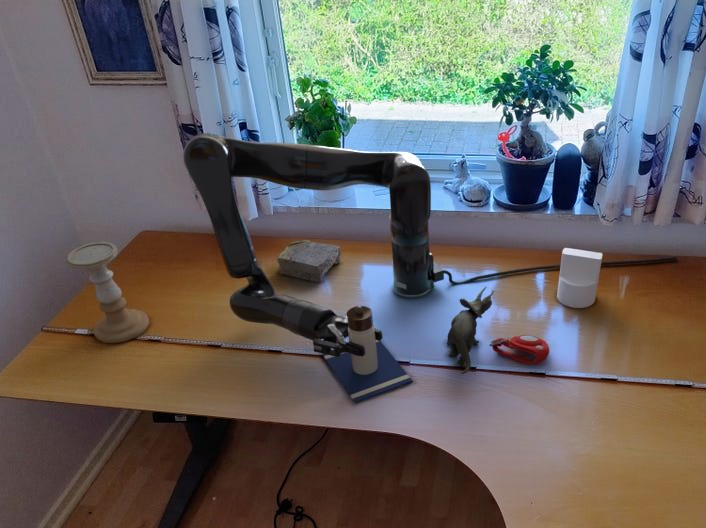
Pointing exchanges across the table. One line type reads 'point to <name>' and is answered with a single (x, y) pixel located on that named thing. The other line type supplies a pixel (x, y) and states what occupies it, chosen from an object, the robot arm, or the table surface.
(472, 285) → the table surface
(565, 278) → the cylinder with rectangular tab
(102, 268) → the candle holder
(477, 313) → the toy dinosaur
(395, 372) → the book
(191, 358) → the table surface
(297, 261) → the geological specimen
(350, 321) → the pepper mill
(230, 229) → the robot arm
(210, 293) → the table surface
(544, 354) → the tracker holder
